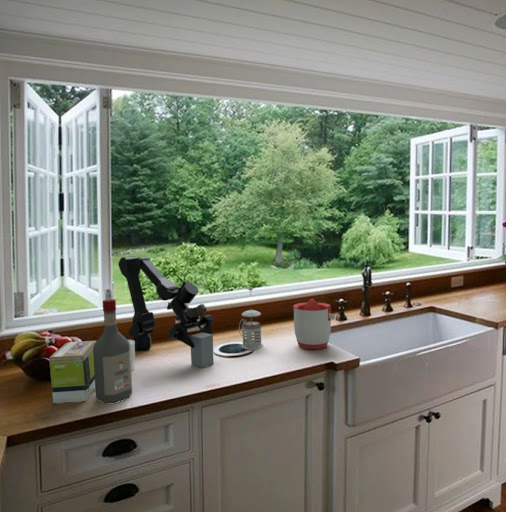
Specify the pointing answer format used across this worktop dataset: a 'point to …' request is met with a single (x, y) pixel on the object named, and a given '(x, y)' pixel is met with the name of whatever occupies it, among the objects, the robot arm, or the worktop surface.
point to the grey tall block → (202, 350)
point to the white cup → (132, 353)
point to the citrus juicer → (312, 324)
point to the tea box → (73, 372)
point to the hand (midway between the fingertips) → (203, 344)
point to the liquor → (112, 360)
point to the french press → (251, 330)
